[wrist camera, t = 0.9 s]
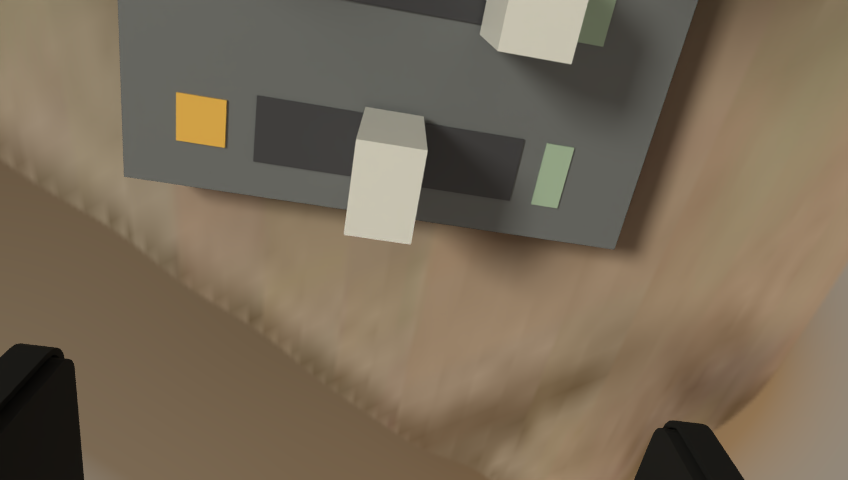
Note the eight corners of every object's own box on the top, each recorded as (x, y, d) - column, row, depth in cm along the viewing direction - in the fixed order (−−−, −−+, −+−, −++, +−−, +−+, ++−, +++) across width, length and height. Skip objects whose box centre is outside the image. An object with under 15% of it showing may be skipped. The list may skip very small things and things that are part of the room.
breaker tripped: (365, 106, 24) (356, 138, 20) (423, 116, 24) (427, 150, 20) (354, 187, 26) (343, 234, 21) (410, 195, 26) (410, 244, 21)
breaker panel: (146, -166, 23) (109, -184, 20) (684, -57, 25) (719, -60, 22) (151, 156, 28) (122, 177, 26) (595, 224, 30) (614, 250, 28)
